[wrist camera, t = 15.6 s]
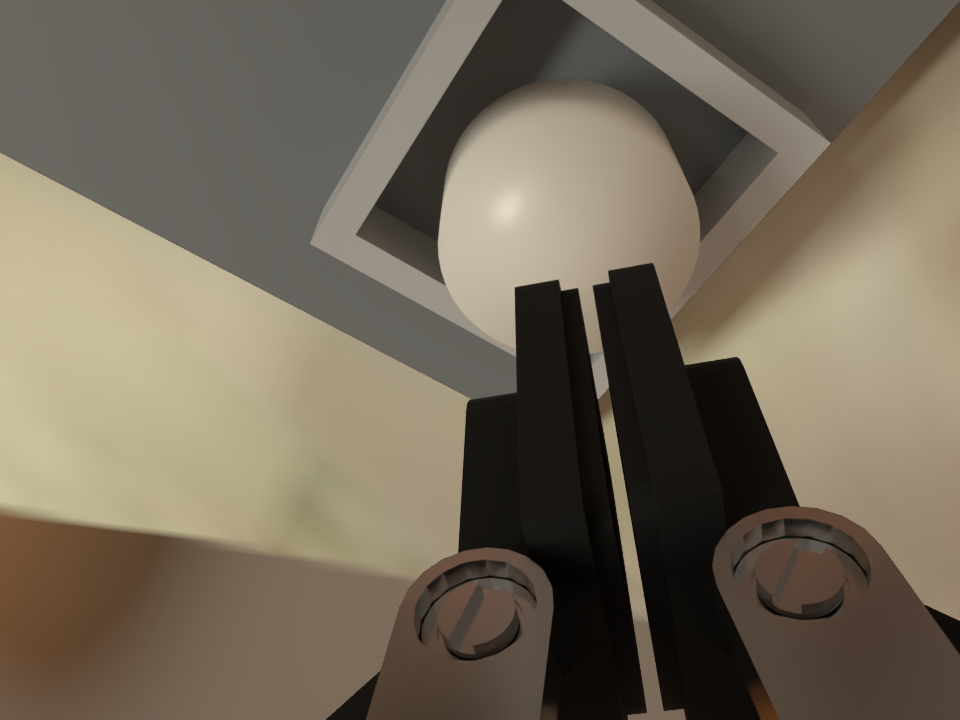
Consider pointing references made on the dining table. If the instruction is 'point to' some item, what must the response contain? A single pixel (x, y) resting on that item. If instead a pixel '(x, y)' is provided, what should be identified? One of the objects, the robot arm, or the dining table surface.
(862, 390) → the dining table surface
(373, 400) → the dining table surface
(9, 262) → the dining table surface
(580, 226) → the button
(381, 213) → the picture board
